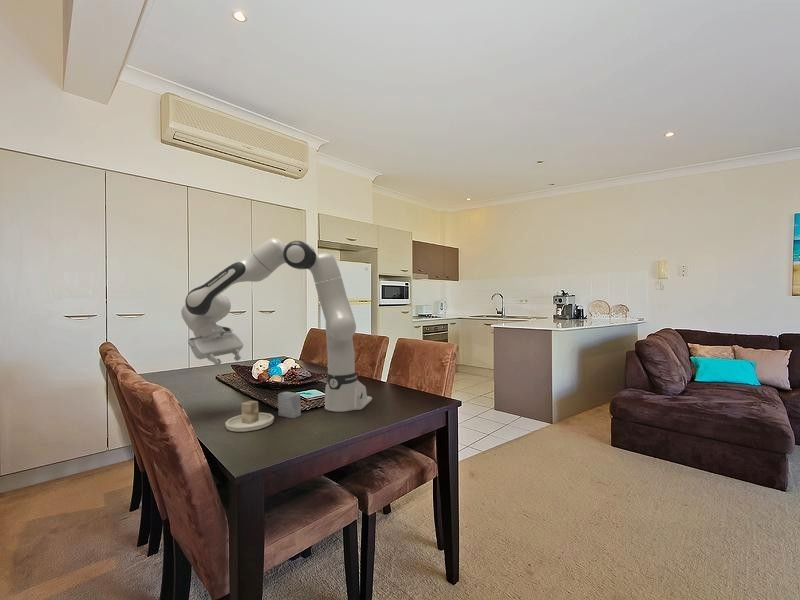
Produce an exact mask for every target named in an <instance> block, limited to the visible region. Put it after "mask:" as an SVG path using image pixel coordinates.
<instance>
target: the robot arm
mask: <svg viewBox="0 0 800 600" xmlns="http://www.w3.org/2000/svg"><path fill="white" fill-rule="evenodd" d="M284 264H287V265H288V266H289V267H291V268H293V269H296V270H309V272H310V273H311V274H312V278H313V282H314V285H315V288H316V293H317V296H318V297H317V298H318V301H319V303H320V307H321V311H322V313H323V317H324V320H325V337H326V338H325V339H326V352H327V373H326V382H327V384H326V385H325V390H324V401H325V403H324V404H325V406H324V409H325V410H327V411H331V412H339V413H340V412H350V411H356V410H357V411H359V410H362V409H364V408H365V407H366V406H367V405H368V404H369V403H370V402H371V401H372V400H373V397H372V396H370V395H367V388H366V385H364V384H363V383H361V382H360V380H358V377H360V376H361V371H359V370H356V368H355V364H356V361H355V359H356V358H355V348H354V341H353V340H354V339H353V336H354V335H355V333H356V332H357V331H356V330H357V324H356V321H355V317H354V314H353V310H352V308H351V304H350V302H349V299H348V297H347V293H346V289H345V285H344V281H343V278H342V273H341V271H340V268H339V266H338V262H337V261H336V259H335V257H334V256H333V254H330V253H329V252H321V253H316V250H314V248H313V247H312V246H311V245H310V244H308V243H307V242H305V241H302V240H293V241H290V242H289V243H288V244H286V243H284V241H282V240H281V239H279V238H277V237H271V238H269V239H267V240H266V241H264V242H262V243H261V244H260V245H258V246H257V247H256V248H255V249H254V250H252V251H251V252H250V253H249V254H248V255H247V256H245V257H244V258H242V259H240V260H239V261H236V262H234V263H232V264H230V265H229V266H227V267H225V268H224V269H223V270H221V271H220V272H218V273H217V274H216V275H214V276H213V277H212V278H211V279H209V280H208V281H206V282H205V283H204V284H202V285H199V286H197V287H195V288H193V289H192V290H190V291H189V292H188V294H187V295H186V298H185V302H184V303H185V304H184V305H183V306H182V309H181V311H180V312H181V317H182V319H183V321H184V323H185V324H186V326H187V327H188V329H189V330H190V331H192V333H193V335H194V337H190V338H189V339H188V340H187V343H188V345H189V346H190V349H191V351H192V353H193V354H194V356H195V358H196V359H198V360H203V359H204V360H205V359H207V360H208V361H210V362H212V363H213V364H214V365H215V366H219V365H220V364H221V363H222V361H221V360H220V358H217V357H218V356H223V355H224V356H225V355H228V354H233V355H234V357H233V359H234V360H235V361H236V362H237V361H240V360H241V359H242V357H241V356H240V351H241V350H242V349H243V347H244V343H243V342H242V341H241V339H240V338H239V337H238V334H236V333H234V332H233V329H232V328H231V327H229V326H228V327H227V326H222V325H218V324H217V323H218V322H220V321H221V320H223V319H224V318H225V317H227V315H229V313H230V311H231V305H232V304H231V301H230V299H229V298H228V297H227V296H225V295H222V293H223V292H225V291H226V290H227V289H228V288H230V287H231V286H233V285H235V284H237V283H244V282H251V283H252V282H254V283H255V282H256V283H257V282H262V281H263V280H265V279H266V278H268V277H269V276H271V274H273V273H274V272H275V271H276V270H277V269H278V268H279V267H280V266H282V265H284Z"/></svg>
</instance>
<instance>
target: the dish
mask: <svg viewBox="0 0 800 600" xmlns="http://www.w3.org/2000/svg"><path fill="white" fill-rule="evenodd" d="M258 418H259V421H256V422H254V423H252V424H247V423H242V414H239V415H235V416H234V417H231V418H228V419H227V420H226V421H225V422H224V424H225V428H226V430H228V431H230V432H236V433H237V432H239V433H241V432H242V433H243V432H252V431H256V430H257V431H258V430H261V429H264V428H266V427H267V428H268V426H270V425H272V424H273V423H274V420H275V415H273V414H272V413H268V412H258Z"/></svg>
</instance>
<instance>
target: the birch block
mask: <svg viewBox="0 0 800 600" xmlns="http://www.w3.org/2000/svg"><path fill="white" fill-rule="evenodd" d="M240 410H241V415H242V423H247V424H252V423H254V422H256V421H259V418H258V413H259V401H257V400H247V401H245V402H242V403H241V409H240Z"/></svg>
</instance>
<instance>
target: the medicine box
mask: <svg viewBox="0 0 800 600" xmlns="http://www.w3.org/2000/svg"><path fill="white" fill-rule="evenodd" d="M301 408H302V407H301V393H300V392H299V393H297V392H291V391H282V392H280V393H278V394H277V409H278V411H277V413H278V416H280V417H285V418H289V419H296V418H298V417H300V416H301V415H302V410H301Z"/></svg>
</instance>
